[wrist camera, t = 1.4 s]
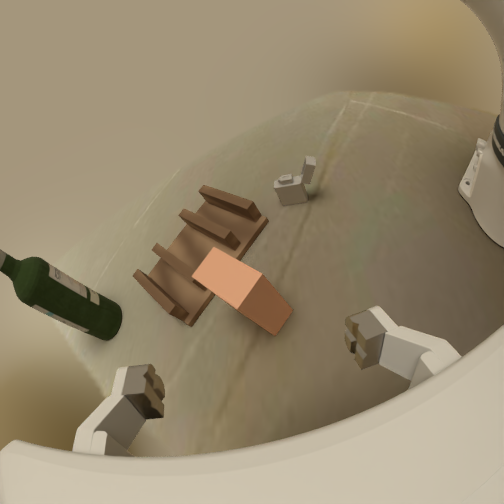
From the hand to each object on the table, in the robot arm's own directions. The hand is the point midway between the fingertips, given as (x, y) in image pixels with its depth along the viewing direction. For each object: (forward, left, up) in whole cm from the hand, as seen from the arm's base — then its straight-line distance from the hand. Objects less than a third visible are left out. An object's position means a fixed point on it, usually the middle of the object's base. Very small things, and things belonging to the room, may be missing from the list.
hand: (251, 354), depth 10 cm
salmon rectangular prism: (-3, -12, -22) cm, 25 cm away
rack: (-5, -27, -22) cm, 35 cm away
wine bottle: (+16, -37, -22) cm, 46 cm away
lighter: (-21, -17, -22) cm, 35 cm away
